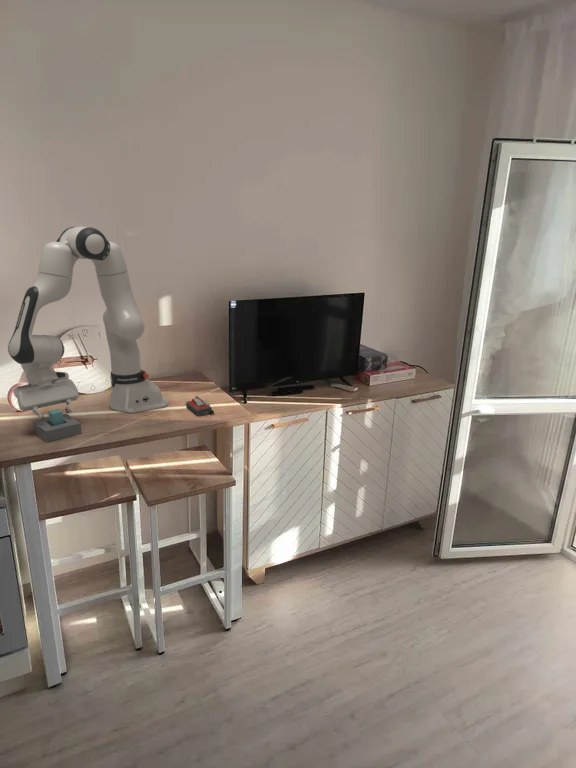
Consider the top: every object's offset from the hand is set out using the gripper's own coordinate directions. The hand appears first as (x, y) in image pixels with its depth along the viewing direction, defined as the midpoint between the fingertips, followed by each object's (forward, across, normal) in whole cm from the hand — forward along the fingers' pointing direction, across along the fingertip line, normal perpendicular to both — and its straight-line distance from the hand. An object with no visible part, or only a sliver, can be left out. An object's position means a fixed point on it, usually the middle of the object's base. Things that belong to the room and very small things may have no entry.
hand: (56, 415), depth 201 cm
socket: (+5, 0, +5) cm, 7 cm away
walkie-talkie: (+12, +52, -2) cm, 54 cm away
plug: (+5, 0, +5) cm, 7 cm away
